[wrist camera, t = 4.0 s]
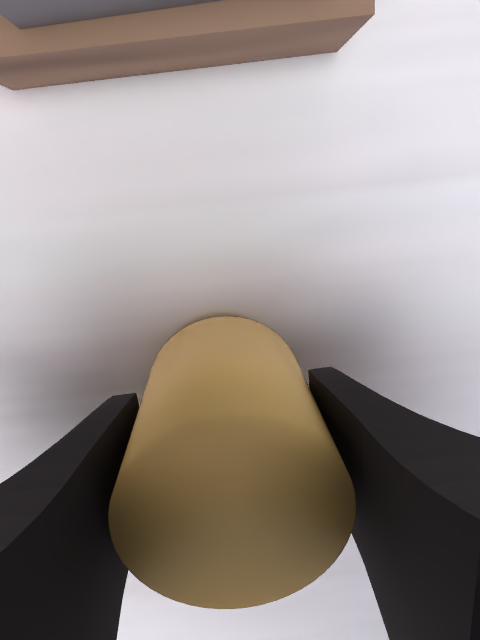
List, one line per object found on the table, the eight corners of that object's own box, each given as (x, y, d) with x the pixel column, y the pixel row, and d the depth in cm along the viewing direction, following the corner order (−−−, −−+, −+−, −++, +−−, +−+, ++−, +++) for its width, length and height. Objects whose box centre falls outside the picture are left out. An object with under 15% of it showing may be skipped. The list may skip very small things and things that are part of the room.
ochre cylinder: (304, 440, 13) (358, 591, 8) (163, 459, 13) (136, 624, 8) (295, 306, 11) (353, 396, 7) (135, 327, 11) (80, 433, 7)
